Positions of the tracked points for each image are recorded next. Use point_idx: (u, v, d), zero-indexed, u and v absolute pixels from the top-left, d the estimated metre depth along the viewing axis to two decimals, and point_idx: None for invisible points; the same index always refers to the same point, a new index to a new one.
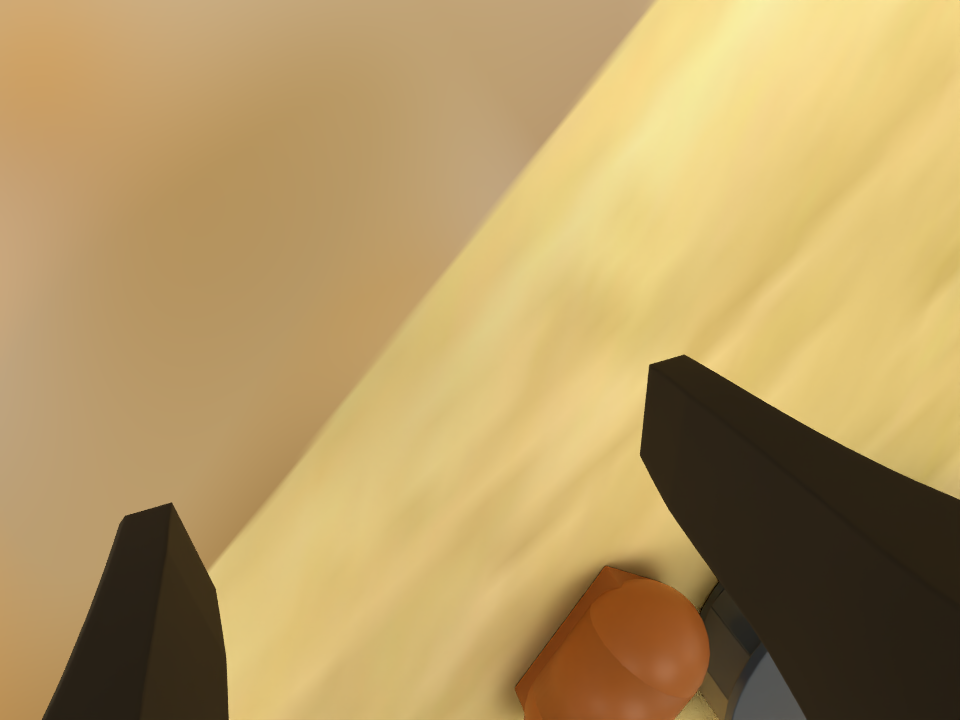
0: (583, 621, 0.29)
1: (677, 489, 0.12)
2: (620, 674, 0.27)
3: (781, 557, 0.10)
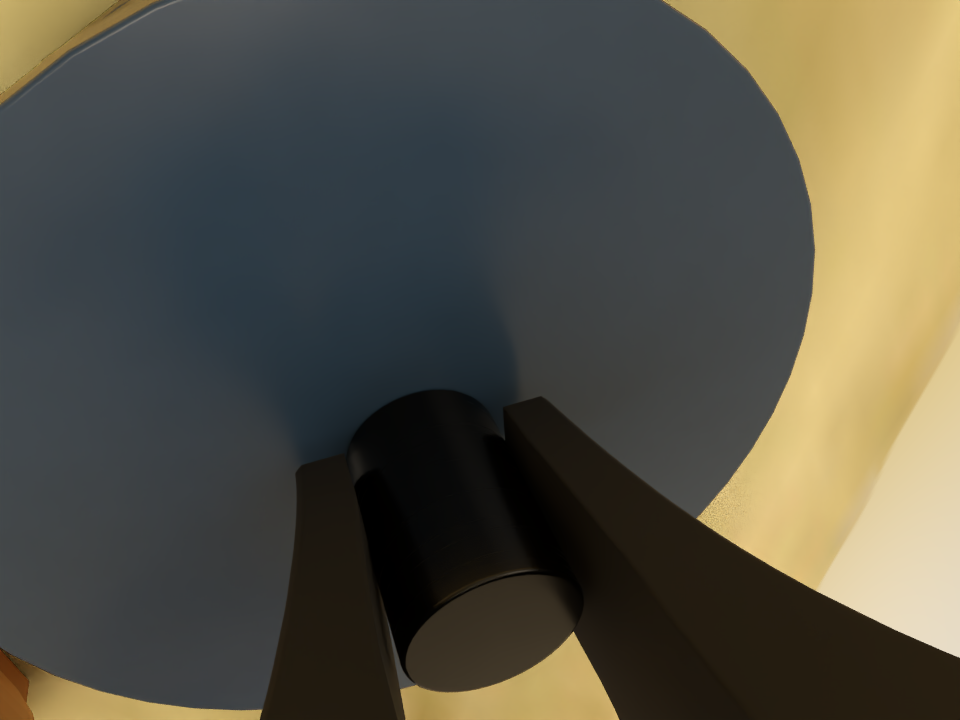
0: None
1: None
2: None
3: (612, 618, 0.09)
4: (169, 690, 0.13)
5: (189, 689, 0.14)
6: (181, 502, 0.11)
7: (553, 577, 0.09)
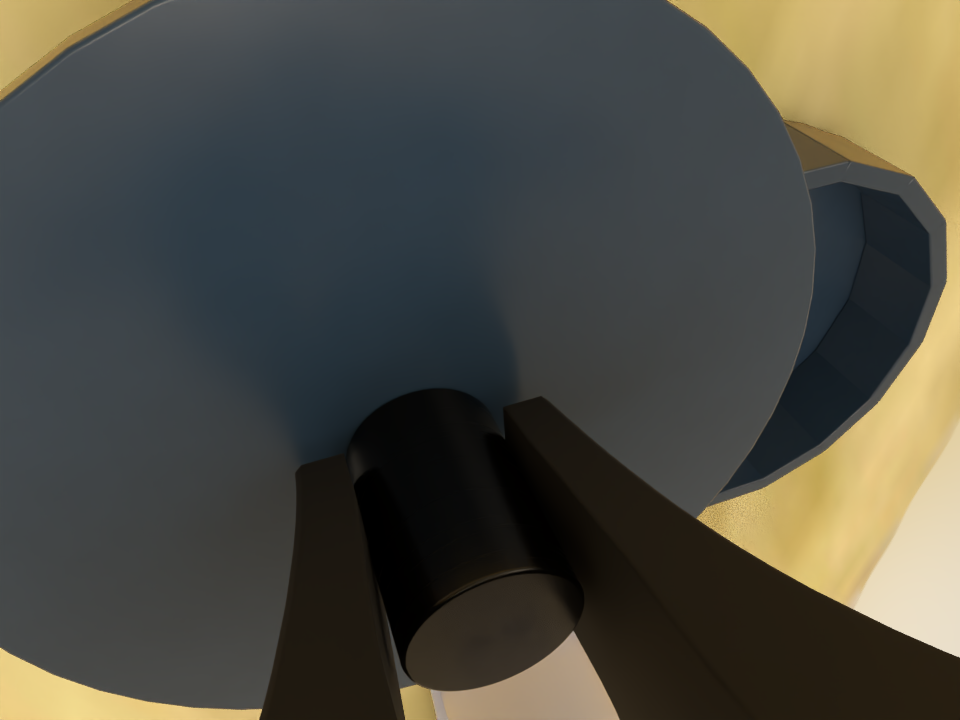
0: None
1: None
2: None
3: (612, 618, 0.09)
4: (169, 690, 0.13)
5: (189, 688, 0.14)
6: (180, 500, 0.11)
7: (553, 576, 0.09)
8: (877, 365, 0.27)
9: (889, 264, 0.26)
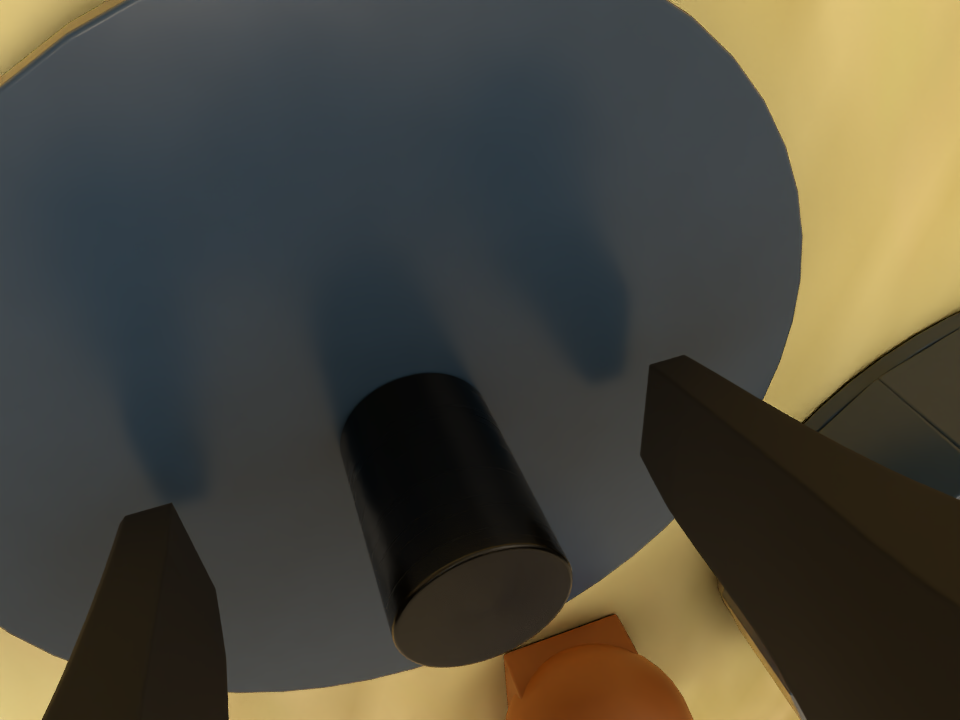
0: None
1: (677, 488, 0.12)
2: None
3: (781, 557, 0.10)
4: None
5: None
6: (177, 482, 0.11)
7: (542, 553, 0.09)
8: None
9: None
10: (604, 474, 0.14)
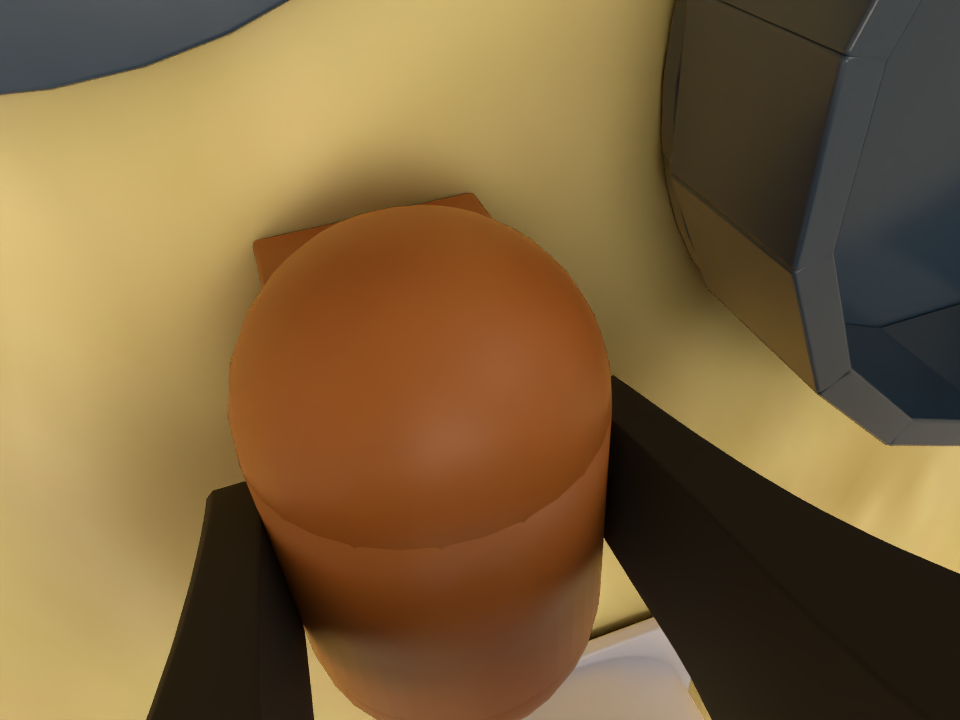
0: None
1: (607, 512, 0.11)
2: (302, 539, 0.09)
3: (698, 587, 0.09)
4: None
5: None
6: None
7: None
8: None
9: None
10: None
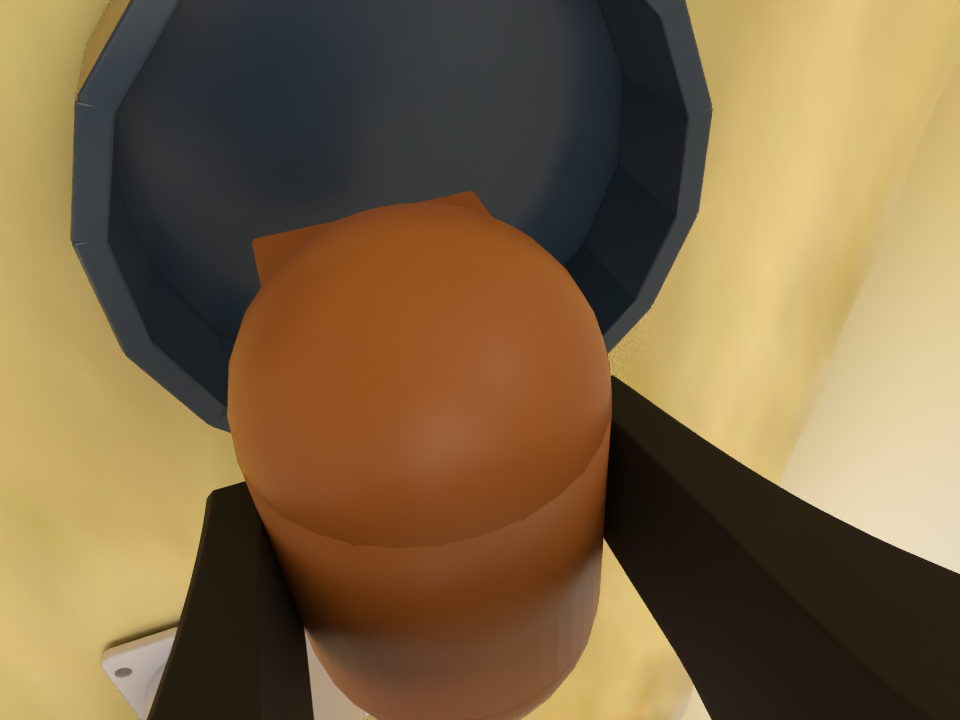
0: None
1: (607, 512, 0.11)
2: (300, 538, 0.09)
3: (697, 587, 0.09)
4: None
5: None
6: None
7: None
8: (644, 251, 0.19)
9: (647, 97, 0.18)
10: None
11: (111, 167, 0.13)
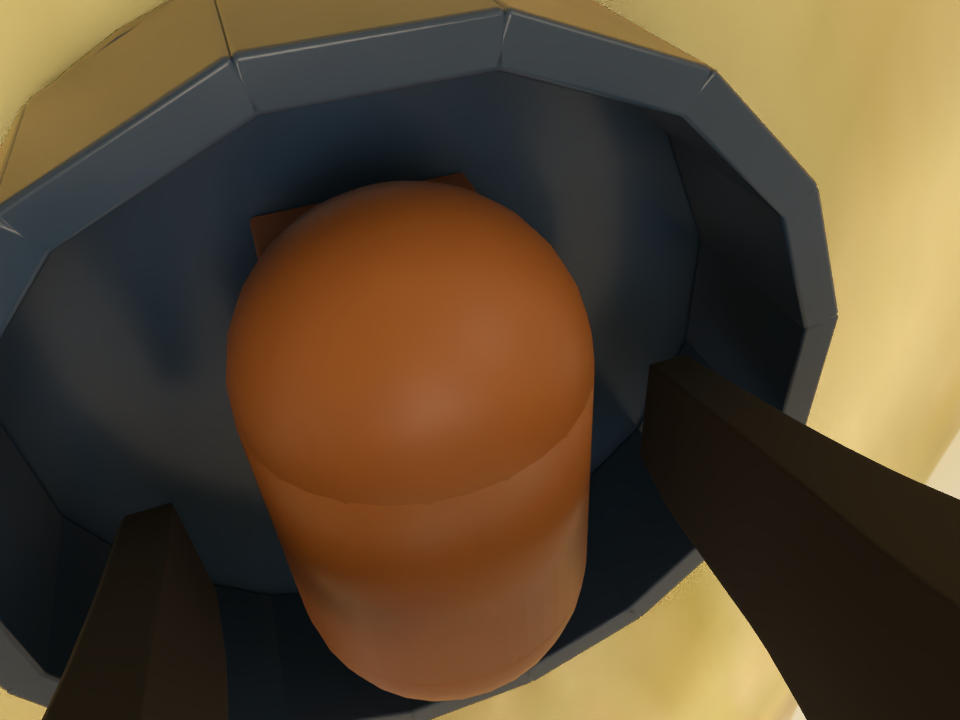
0: None
1: (677, 489, 0.12)
2: (295, 499, 0.09)
3: (781, 557, 0.10)
4: None
5: None
6: None
7: None
8: None
9: (736, 280, 0.13)
10: None
11: None
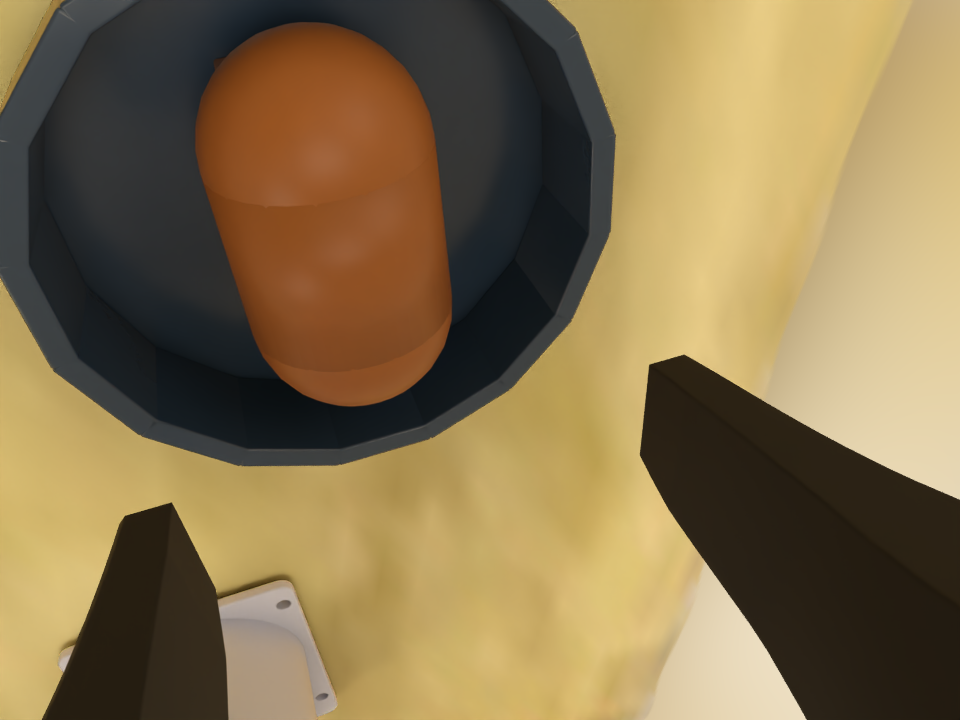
0: None
1: (677, 489, 0.12)
2: (237, 214, 0.14)
3: (781, 557, 0.10)
4: None
5: None
6: None
7: None
8: (562, 267, 0.20)
9: (560, 122, 0.18)
10: None
11: (28, 197, 0.14)
